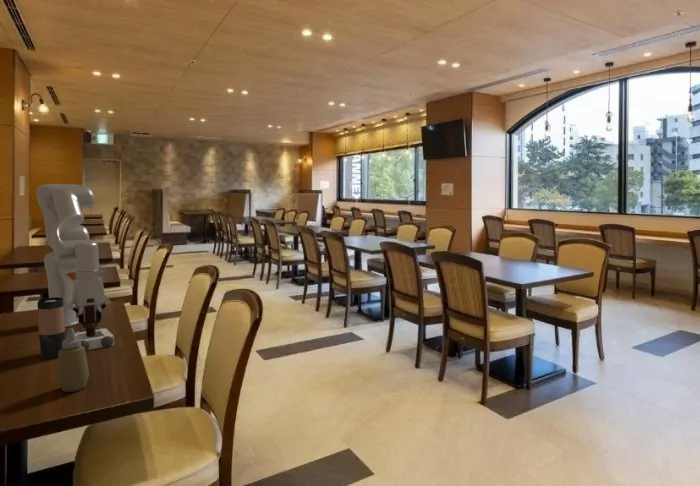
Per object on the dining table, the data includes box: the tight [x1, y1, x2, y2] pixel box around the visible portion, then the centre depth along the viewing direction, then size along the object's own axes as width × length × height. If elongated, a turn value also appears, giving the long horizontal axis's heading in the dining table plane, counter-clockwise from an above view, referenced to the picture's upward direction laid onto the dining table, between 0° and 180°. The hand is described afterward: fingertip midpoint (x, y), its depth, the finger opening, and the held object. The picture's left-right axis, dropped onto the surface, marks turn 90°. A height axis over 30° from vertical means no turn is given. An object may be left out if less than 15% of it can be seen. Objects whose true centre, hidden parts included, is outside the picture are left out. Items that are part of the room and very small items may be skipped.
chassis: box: [74, 327, 115, 352], centre depth 175 cm, size 15×13×4 cm
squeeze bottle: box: [56, 327, 90, 393], centre depth 135 cm, size 8×8×18 cm
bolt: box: [82, 298, 99, 337], centre depth 174 cm, size 6×5×15 cm
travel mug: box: [36, 297, 66, 360], centre depth 162 cm, size 8×8×20 cm
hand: (90, 322), depth 175 cm, fingers closed on bolt, 4 cm apart
